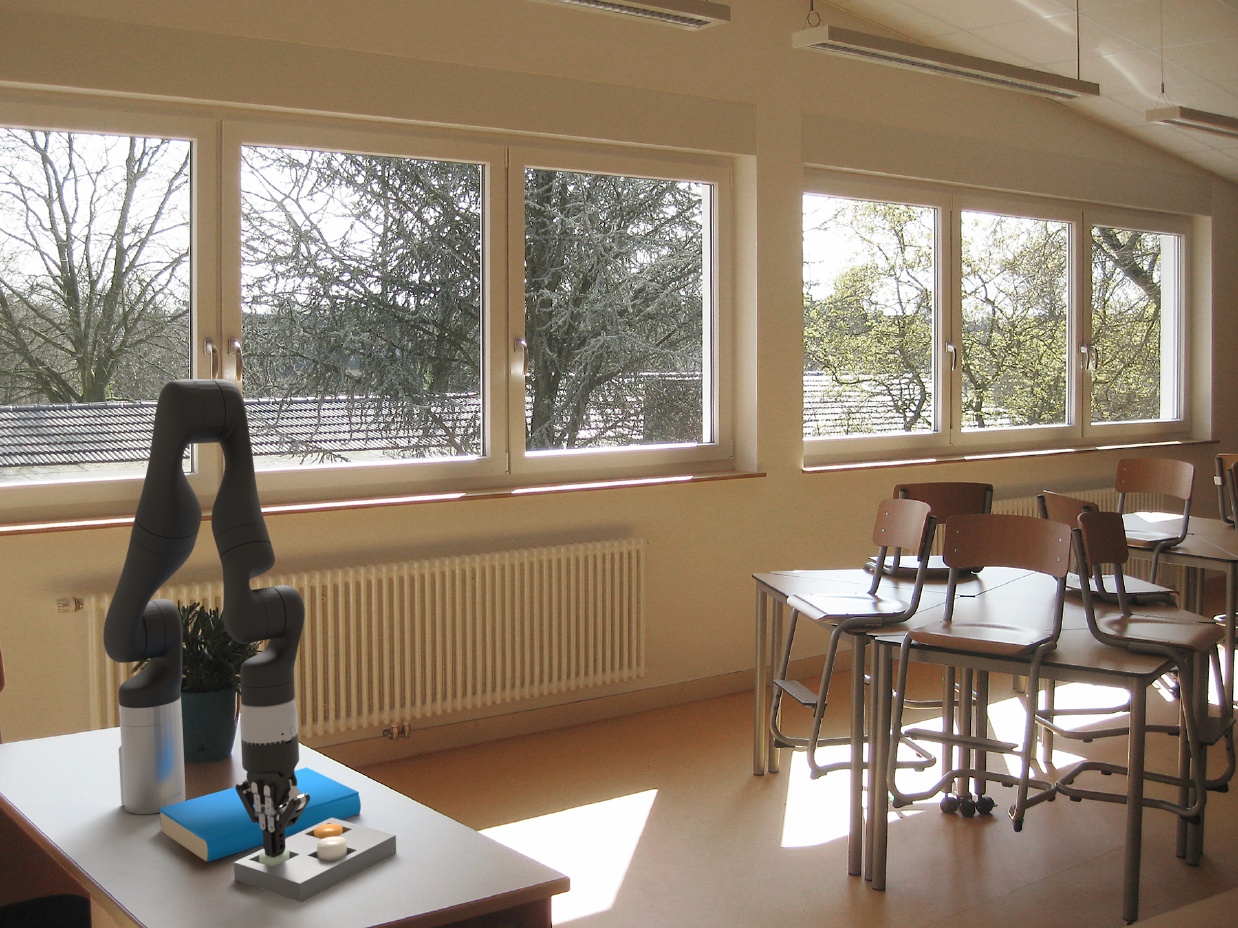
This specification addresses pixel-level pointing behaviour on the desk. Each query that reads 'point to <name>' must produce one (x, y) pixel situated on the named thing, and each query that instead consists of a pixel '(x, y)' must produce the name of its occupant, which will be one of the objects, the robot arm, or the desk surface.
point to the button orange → (328, 831)
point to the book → (227, 827)
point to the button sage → (273, 861)
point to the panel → (315, 861)
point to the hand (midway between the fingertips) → (274, 854)
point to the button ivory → (331, 849)
